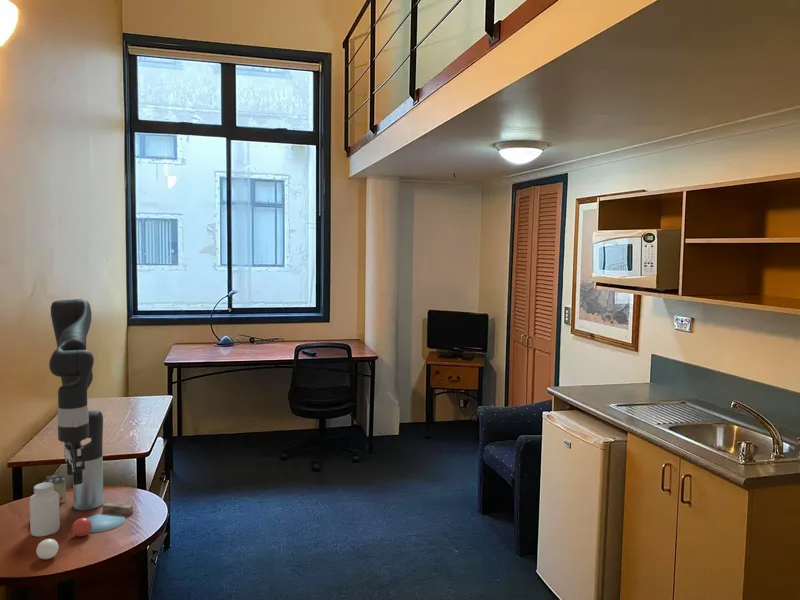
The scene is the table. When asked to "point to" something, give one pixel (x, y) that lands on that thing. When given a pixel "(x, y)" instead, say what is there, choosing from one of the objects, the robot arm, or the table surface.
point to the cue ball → (47, 549)
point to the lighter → (58, 486)
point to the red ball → (81, 527)
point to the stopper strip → (117, 508)
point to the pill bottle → (44, 510)
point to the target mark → (106, 522)
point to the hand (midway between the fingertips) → (74, 479)
